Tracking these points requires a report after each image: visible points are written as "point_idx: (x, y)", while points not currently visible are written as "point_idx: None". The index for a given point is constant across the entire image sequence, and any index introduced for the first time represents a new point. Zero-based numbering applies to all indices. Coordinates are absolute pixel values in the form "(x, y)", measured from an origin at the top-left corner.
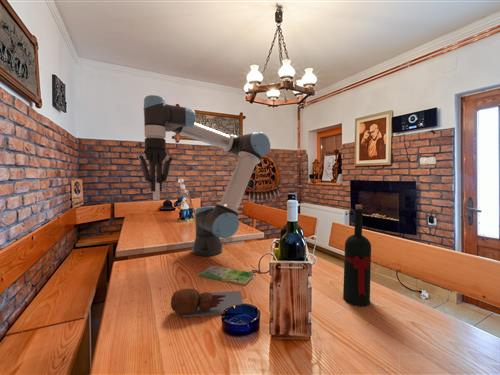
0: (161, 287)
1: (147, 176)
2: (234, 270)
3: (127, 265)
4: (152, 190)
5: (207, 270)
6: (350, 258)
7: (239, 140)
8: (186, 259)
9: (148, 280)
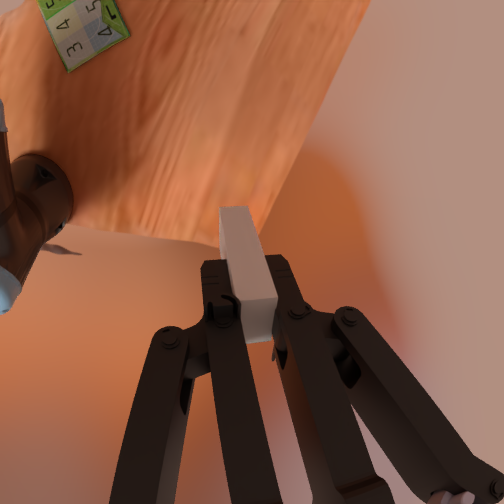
0: (237, 34)
1: (377, 343)
2: (49, 9)
3: None
4: (283, 259)
5: (98, 43)
6: None
7: None
8: (102, 167)
9: (243, 91)
